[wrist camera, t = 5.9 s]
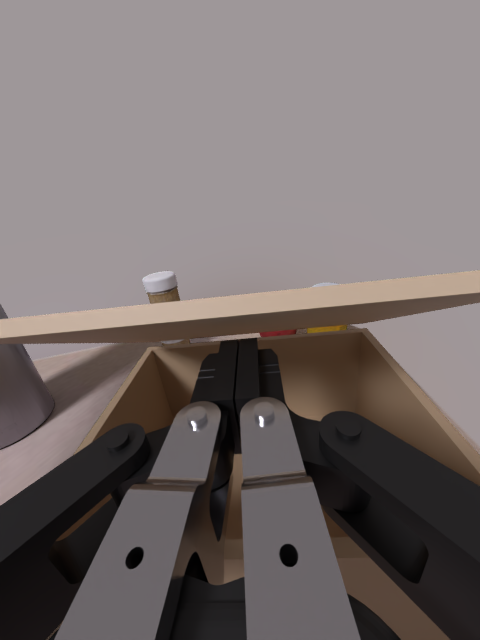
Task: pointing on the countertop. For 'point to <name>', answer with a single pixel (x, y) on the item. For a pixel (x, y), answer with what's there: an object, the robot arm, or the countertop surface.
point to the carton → (312, 403)
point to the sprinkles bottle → (163, 294)
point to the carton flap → (249, 312)
